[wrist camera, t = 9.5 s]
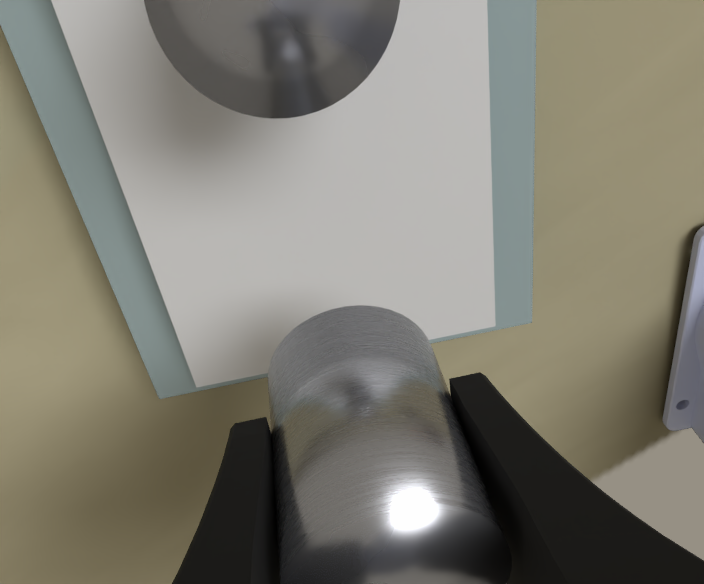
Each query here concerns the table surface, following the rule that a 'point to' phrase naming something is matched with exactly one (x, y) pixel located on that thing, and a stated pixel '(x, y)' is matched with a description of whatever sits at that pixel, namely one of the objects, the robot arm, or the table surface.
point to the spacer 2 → (374, 460)
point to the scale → (293, 183)
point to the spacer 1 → (273, 49)
